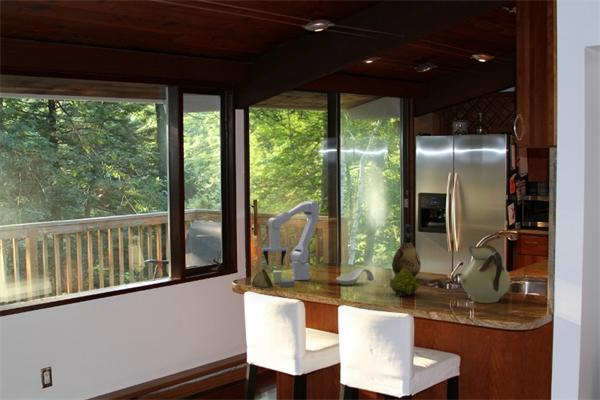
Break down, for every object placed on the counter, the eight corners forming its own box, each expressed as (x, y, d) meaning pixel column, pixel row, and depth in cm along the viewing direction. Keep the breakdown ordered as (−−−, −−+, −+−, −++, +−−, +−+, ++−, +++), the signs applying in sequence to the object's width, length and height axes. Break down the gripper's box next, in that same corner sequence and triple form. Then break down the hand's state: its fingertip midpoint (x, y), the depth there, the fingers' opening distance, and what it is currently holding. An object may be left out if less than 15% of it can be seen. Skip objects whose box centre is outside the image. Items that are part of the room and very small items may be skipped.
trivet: (293, 284, 390) (293, 278, 390) (294, 287, 382) (294, 281, 382) (278, 284, 390) (278, 279, 390) (279, 287, 382) (279, 281, 382)
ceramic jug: (422, 281, 388) (422, 226, 386) (393, 282, 389) (393, 226, 387) (418, 276, 405) (417, 223, 403) (390, 276, 406) (390, 223, 404)
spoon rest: (347, 287, 377) (347, 274, 377) (331, 284, 386) (331, 271, 386) (378, 281, 393) (378, 268, 392) (362, 278, 402) (362, 266, 401)
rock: (246, 282, 385) (255, 282, 376) (253, 268, 388) (263, 267, 380) (261, 292, 389) (271, 292, 381) (267, 278, 392) (278, 278, 384)
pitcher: (473, 293, 354) (473, 242, 352) (520, 299, 339) (520, 246, 337) (452, 301, 337) (452, 248, 335) (500, 308, 322) (500, 252, 320)
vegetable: (396, 291, 343) (395, 262, 351) (385, 303, 357) (385, 275, 364) (425, 295, 346) (424, 267, 353) (414, 307, 359) (413, 279, 367)
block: (281, 281, 398) (281, 270, 397) (281, 282, 393) (281, 271, 393) (273, 281, 397) (273, 270, 397) (273, 283, 393) (273, 272, 392)
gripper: (260, 240, 389) (260, 266, 390) (287, 240, 388) (287, 265, 389) (261, 239, 396) (261, 264, 397) (288, 239, 396) (288, 263, 396)
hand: (274, 264), depth 393 cm, fingers open, 7 cm apart
